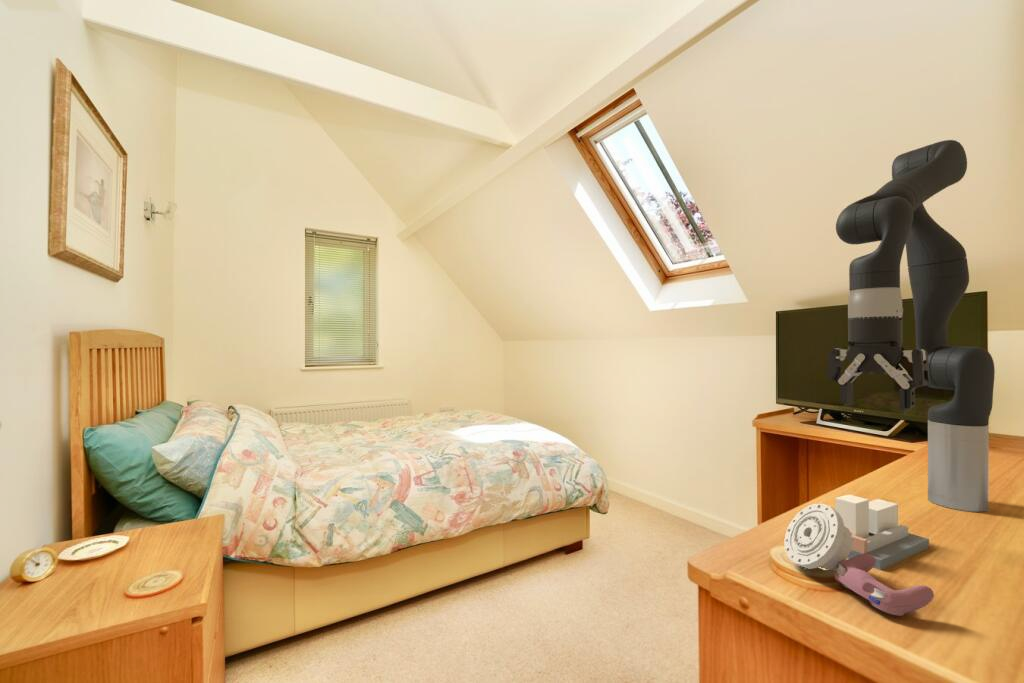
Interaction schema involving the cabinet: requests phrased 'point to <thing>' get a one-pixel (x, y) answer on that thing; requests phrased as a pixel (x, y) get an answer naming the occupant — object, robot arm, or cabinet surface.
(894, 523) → the cream block
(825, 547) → the mechanical component
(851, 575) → the pink curved lobed piece
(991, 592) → the cabinet surface
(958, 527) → the cabinet surface
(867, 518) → the rail mount
